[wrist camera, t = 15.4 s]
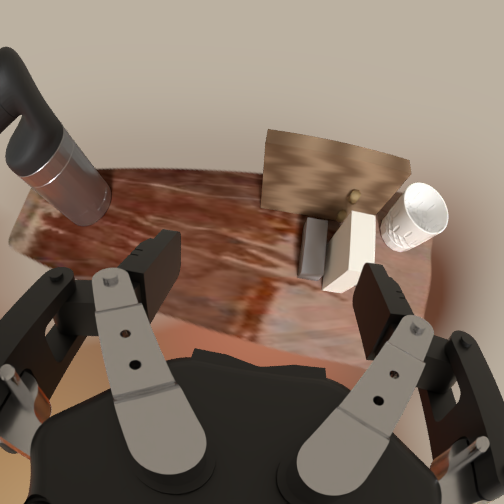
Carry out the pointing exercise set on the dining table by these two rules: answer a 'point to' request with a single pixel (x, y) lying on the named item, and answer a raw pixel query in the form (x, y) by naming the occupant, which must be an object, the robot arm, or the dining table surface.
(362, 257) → the plain white rectangular block
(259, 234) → the dining table surface
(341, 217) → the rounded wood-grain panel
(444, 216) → the white cup
